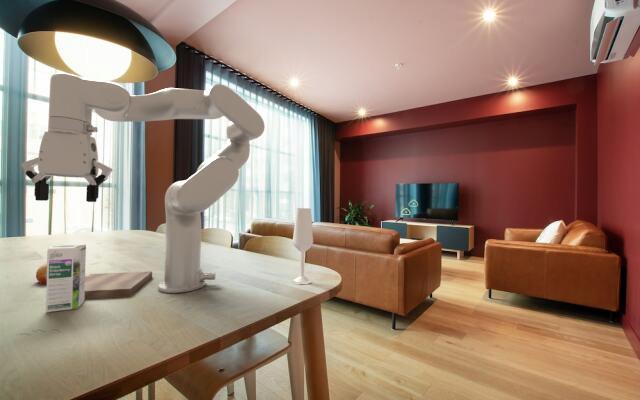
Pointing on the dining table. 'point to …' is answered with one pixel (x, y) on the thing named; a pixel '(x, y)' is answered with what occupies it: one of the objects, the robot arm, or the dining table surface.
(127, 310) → the dining table surface
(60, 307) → the syrup box
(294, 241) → the champagne flute
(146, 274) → the walnut board
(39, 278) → the fruit
